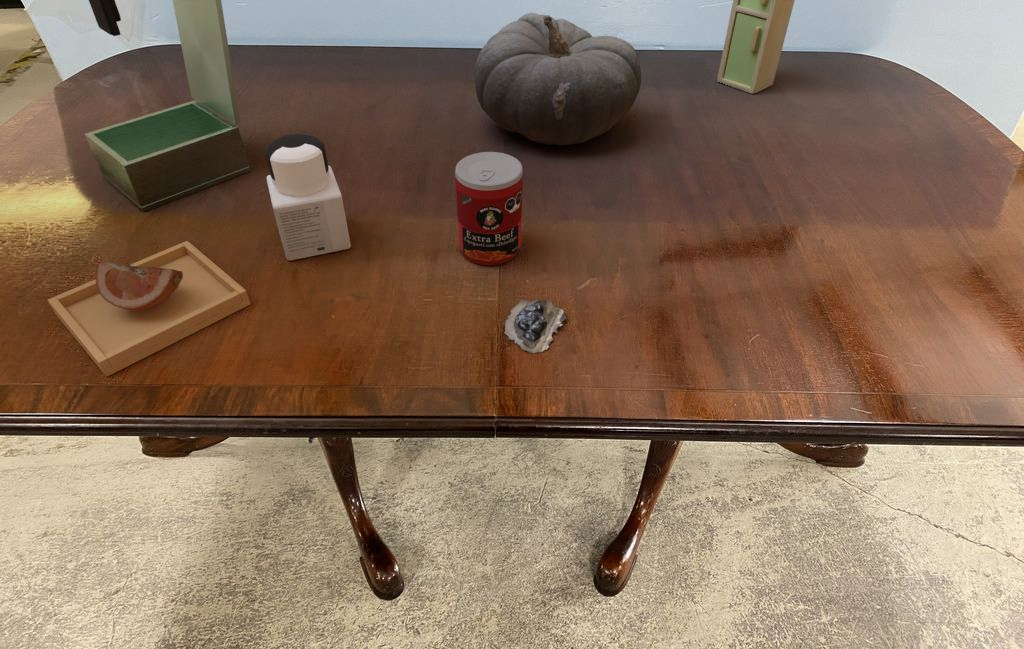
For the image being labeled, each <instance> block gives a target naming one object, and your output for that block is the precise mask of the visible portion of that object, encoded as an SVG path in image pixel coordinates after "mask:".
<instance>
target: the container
mask: <svg viewBox="0 0 1024 649" xmlns="http://www.w3.org/2000/svg"><path fill="white" fill-rule="evenodd" d="M325 147H326V146H325V143H324V142H323V141H322V140H320V138H318V137H316V136H314V135H310V134H304V133H303V134H302V133H294V134H293V133H292V134H287V135H284V136H281V137H279V138H276V139H274V140H272V141H271V142H270V143H268V145H267V146H266V148H265V150H264V155H265V158H266V163H267V167H268V171H269V174H268V175H267V176H266V183H267V187H268V192H269V196H270V201H271V206H272V210H273V214H274V218H275V222H276V225H277V229H278V233H279V237H280V240H281V245H282V249H283V252H284V255H285V256H284V257H285V259H286V260H287V261H295V260H301V259H305V258H310V257H315V256H320V255H325V254H329V253H330V254H331V253H335V252H340V251H345V250H349V249H350V248H351V246H352V245H351V239H350V234H349V229H348V222H347V217H346V212H345V211H346V210H345V206H344V201H343V195H342V192H341V189H340V187H339V184H338V181H337V180H336V179H337V178H336V177H335V174H334V171H333V168H332V166H330V165H329V162H328V157H327V153H326V148H325Z"/></svg>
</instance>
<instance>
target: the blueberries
mask: <svg viewBox="0 0 1024 649" xmlns="http://www.w3.org/2000/svg"><path fill="white" fill-rule="evenodd" d="M567 316H568V315H567V313H566V312H565V310H564V309H562V308H561V307H560V306H559V307H558V306H556V304H555V303H553V302H552V300H550V299H547V298H545V299H543V300H541V299H540V298H538V299H536V298H535V299H534V300H532V301H529V300H528V299H524V298H522V299H521V300H520V299H519V300H518V303H516V304H515V305H514V307H512V308H511V309H510V314H509V315H507V319H506V320H505V321H504V330H505V331H503V334H505V335H506V336H507V337H508V339H509V340H511V341H514V344H517V346H518V347H520V349H521V350H522V351H526V353H529V354H536V353H543V352H544V351H546V350H548V349H549V348H550V346H549V345H551V343H552V341H553V340H554V338H553V334H554V333H556V334H558V328H559V327H562V326H563V325H564V323H563V322H564V321H565V320H567Z"/></svg>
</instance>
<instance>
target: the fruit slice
mask: <svg viewBox="0 0 1024 649" xmlns="http://www.w3.org/2000/svg"><path fill="white" fill-rule="evenodd" d="M130 265H131V263H127V264H124V263H121V262H119V263H117V262H116V263H115V262H110V261H98V263H97V265H96V272H95V279H96V285H97V289H98V291H99V293H100V295H101V296H102V297H103V298H104V299H105V300H106V301H107V302H108V303H110V304H112V305H114V306H116V307H119V308H122V309H126V310H144V309H148V308H152V307H154V306H156V305H158V304H160V303H162V302H163V301H165V300H166V299H167V298H168V297H169V296H170V295H171V294H172V293H173V292H174V291H175V290H176V289H177V288H178V286H179V283H180V282H181V280H182V278H183V272H182V271H177V270H174V269H166V268H155V267H146V268H145V267H137V266H130Z"/></svg>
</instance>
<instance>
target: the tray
mask: <svg viewBox="0 0 1024 649" xmlns="http://www.w3.org/2000/svg"><path fill="white" fill-rule="evenodd" d="M130 266H137V267H145V268H146V267H155V268H166V269H174V270H177V271H182V272H183V278H182V280H181V282H180V283H179V286H178V288H177V289H176V290H175V291H174V292H173V293H172V294H171V295H170V296H169V297H168V298H167V299H166V300H165V301H163V302H162V303H160V304H158V305H156V306H154V307H152V308H148V309H144V310H126V309H122V308H119V307H116V306H114V305H112V304H110V303H108V302H107V301H106V300H105V299H104V298H103V297H102V296H101V295H100V293H99V291H98V289H97V285H96V278H95V279H93V280H90V281H88V282H86V283H84V284H80V285H79V286H77V287H74V288H72V289H69V290H67V291H65V292H62V293H60V294H57V295H55V296H53V297H50V298H48V299H47V302H48V304H49V305H50V307H51V309H52V310H53V313H54V314H55V316H56V317H58V319H59V320H60V322H61V323H62V324H63V325H64V326H65V327H66V329H67V330H68V331H69V332H70V334H71V336H72V337H74V339H75V341H77V342H78V344H79V345H80V346H81V348H82V349H83V350H84V351H85V352H86V353H87V355H88V356H89V357H90V359H91V360H92V361H93V362H94V363H95V365H96V366H97V367H98V368H99V370H100V371H101V372H102V373H103V375H104V376H105V377H109V376H111V375H113V374H115V373H117V372H119V371H122V370H123V369H126V368H128V367H129V366H131V365H133V364H135V363H137V362H139V361H141V360H143V359H145V358H147V357H149V356H151V355H153V354H155V353H157V352H159V351H161V350H163V349H166V348H167V347H169V346H172V345H173V344H175V343H177V342H179V341H180V340H183V339H185V338H187V337H189V336H191V335H193V334H195V333H197V332H199V331H200V330H202V329H205V328H206V327H209V326H211V325H213V324H214V323H215V324H216V322H218V321H220V320H223V319H225V318H227V317H228V316H231V315H232V314H234V313H236V312H238V311H240V310H242V309H245V308H246V307H248V306H251V301H250V298H249V295H248V293H247V290H246V289H245V288H244V287H243V286H241V285H240V284H239V283H238V282H237V281H236V280H234V279H233V278H232V277H231V276H230V275H229V274H227V273H226V272H225V271H224V270H223V269H222V268H220V267H219V266H218V265H217V264H216V263H214V262H213V261H212V260H211V259H210V258H209V257H207V256H206V255H205V254H204V253H203V252H201V251H200V250H199V249H198V248H197V247H196V246H194V245H193V244H192V242H191V243H190V242H189V241H188V240H186V241H184V242H181V243H178V244H176V245H173V246H171V247H169V248H167V249H164V250H161V251H160V252H157V253H155V254H152V255H150V256H148V257H145V258H143V259H141V260H138V261H136V262H134V263H130Z"/></svg>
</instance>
